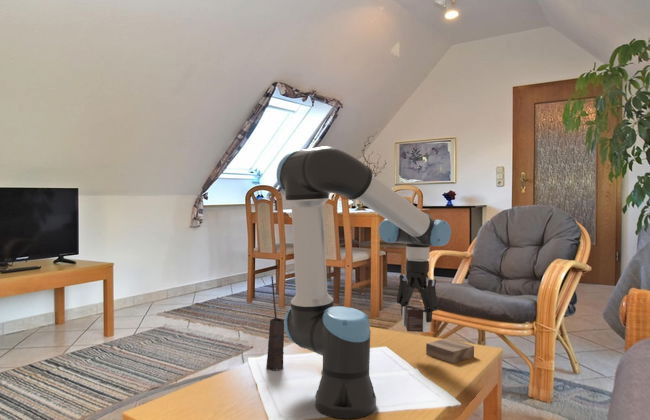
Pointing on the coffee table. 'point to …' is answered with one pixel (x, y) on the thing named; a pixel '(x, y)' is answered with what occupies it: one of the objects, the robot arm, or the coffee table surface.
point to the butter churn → (275, 341)
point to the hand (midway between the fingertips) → (415, 328)
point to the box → (414, 318)
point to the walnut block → (450, 350)
